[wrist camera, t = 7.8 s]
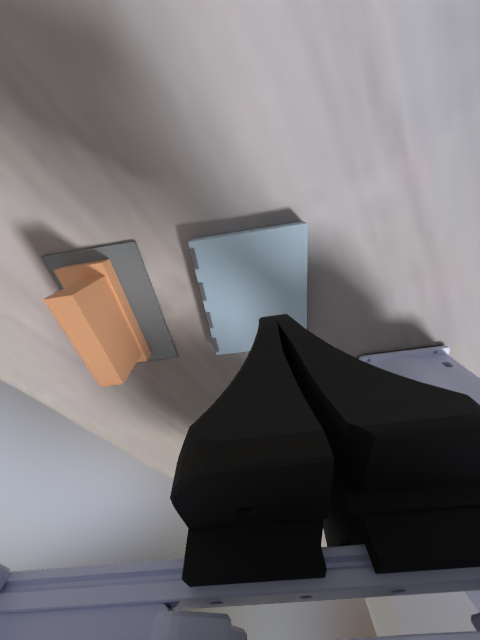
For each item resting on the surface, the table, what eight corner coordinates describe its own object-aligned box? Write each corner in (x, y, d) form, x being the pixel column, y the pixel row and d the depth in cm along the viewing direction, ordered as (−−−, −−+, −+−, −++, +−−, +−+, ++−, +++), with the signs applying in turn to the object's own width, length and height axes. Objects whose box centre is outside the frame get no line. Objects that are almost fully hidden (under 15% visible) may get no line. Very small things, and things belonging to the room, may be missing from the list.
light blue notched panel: (302, 221, 17) (308, 223, 16) (302, 335, 22) (306, 344, 21) (191, 238, 17) (187, 242, 16) (217, 346, 23) (216, 356, 22)
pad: (135, 241, 17) (134, 241, 17) (177, 356, 23) (177, 357, 23) (42, 256, 18) (41, 256, 18) (107, 365, 24) (106, 366, 24)
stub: (109, 259, 18) (66, 279, 13) (151, 353, 23) (130, 392, 18) (63, 266, 18) (6, 289, 14) (115, 358, 23) (85, 397, 18)
